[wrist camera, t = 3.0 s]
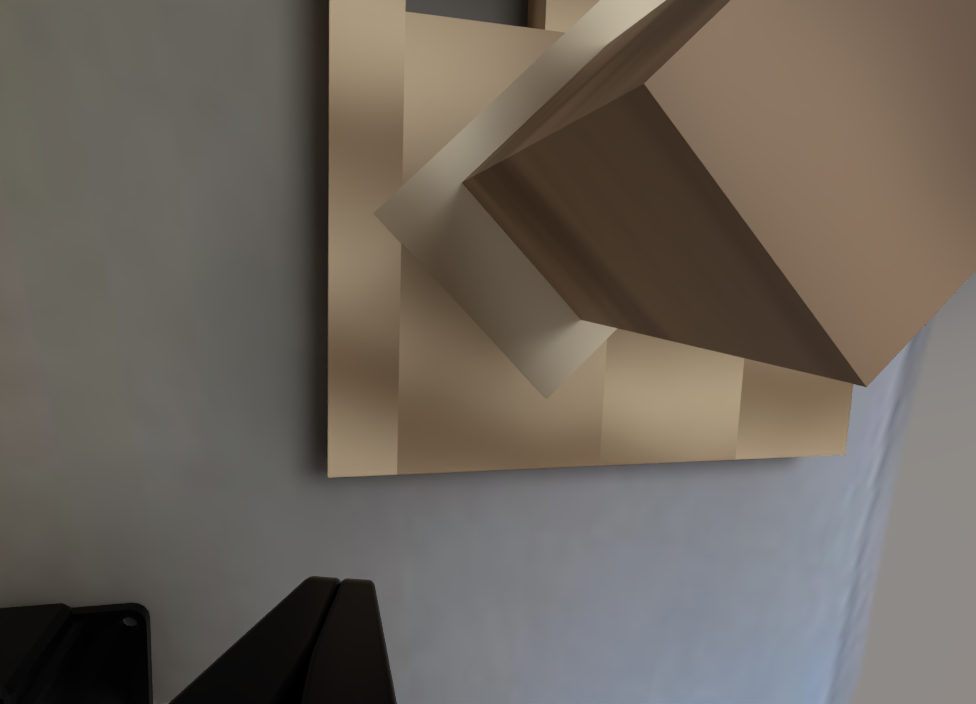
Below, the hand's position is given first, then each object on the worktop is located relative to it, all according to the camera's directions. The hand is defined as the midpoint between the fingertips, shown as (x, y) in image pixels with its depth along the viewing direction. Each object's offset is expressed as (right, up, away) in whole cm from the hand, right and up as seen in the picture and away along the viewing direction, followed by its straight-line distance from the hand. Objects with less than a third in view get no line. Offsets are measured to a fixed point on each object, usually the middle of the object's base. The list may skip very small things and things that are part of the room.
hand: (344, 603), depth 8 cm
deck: (+6, +9, +13) cm, 17 cm away
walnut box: (+5, +8, +11) cm, 15 cm away
